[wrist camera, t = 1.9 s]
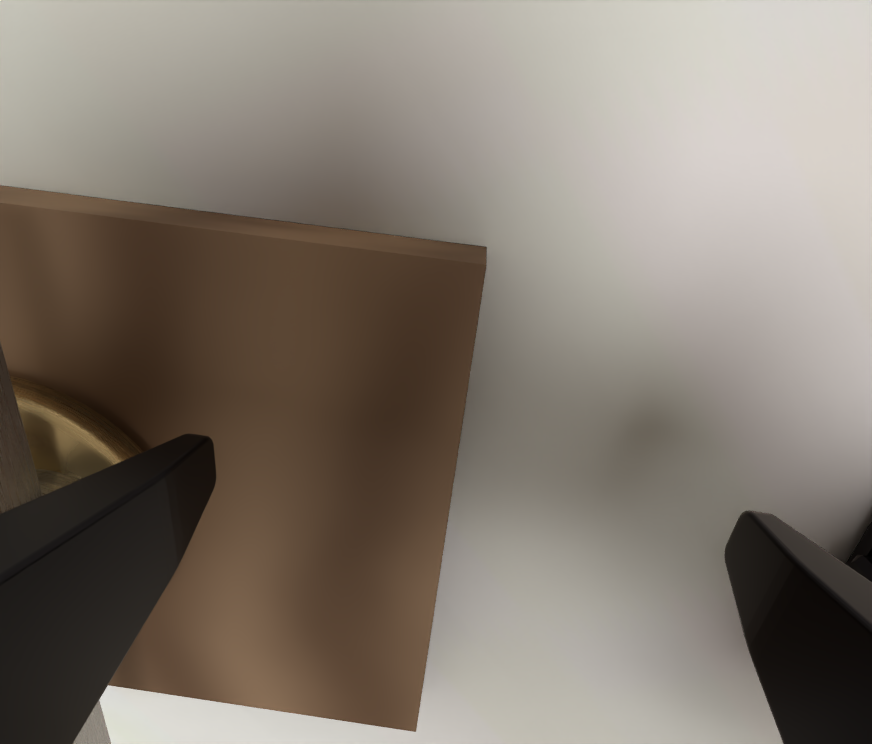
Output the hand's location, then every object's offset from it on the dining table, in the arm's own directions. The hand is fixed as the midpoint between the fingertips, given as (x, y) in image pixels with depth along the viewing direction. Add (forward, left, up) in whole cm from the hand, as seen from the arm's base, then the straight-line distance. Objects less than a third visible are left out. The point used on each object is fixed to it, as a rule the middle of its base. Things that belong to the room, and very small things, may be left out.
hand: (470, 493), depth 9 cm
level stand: (+8, +5, -5) cm, 11 cm away
